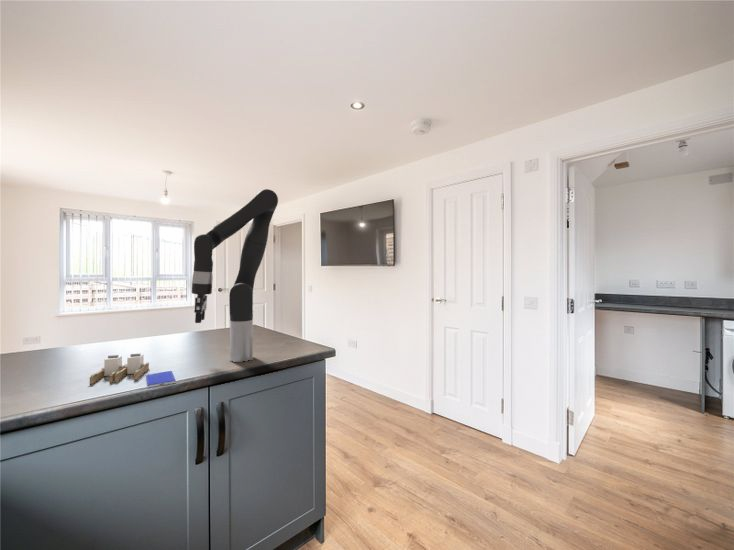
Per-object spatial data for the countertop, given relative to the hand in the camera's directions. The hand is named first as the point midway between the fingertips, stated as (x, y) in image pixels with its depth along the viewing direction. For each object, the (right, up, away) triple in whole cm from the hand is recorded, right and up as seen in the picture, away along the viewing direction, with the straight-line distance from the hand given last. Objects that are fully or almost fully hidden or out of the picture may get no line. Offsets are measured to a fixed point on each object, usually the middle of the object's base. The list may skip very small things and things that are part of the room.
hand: (199, 321), depth 135 cm
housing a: (-17, -18, -16) cm, 29 cm away
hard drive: (-3, -19, -21) cm, 28 cm away
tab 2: (-17, -18, -13) cm, 28 cm away
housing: (-23, -18, -18) cm, 34 cm away
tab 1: (-24, -18, -15) cm, 34 cm away
